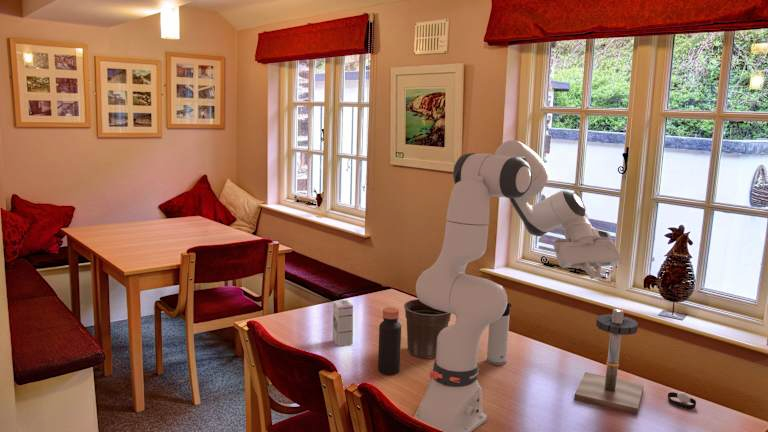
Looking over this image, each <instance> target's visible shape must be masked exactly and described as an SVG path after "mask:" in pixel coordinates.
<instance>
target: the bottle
mask: <svg viewBox="0 0 768 432" xmlns="http://www.w3.org/2000/svg"><path fill="white" fill-rule="evenodd" d="M399 316H400V310H399V309H398V308H396V307H390V306H388V307H385V308H383V309H382V318H383V320H382V321H381V322H380V324H379V326H378V327H379V328H378V351H377V352H378V353H377V356H378V358H377V372H378V373H379V374H382V375H385V376H394V375H397V374H399V372H400V368H401V347H402V345H401V344H402V343H401V342H402V325H401V323H400V322H399V321H398V320H399Z"/></svg>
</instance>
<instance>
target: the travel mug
mask: <svg viewBox="0 0 768 432" xmlns="http://www.w3.org/2000/svg"><path fill="white" fill-rule="evenodd" d="M510 308H512V303H509V302H507V307H506V310H505V312H504V314H503V315H502V316H501V317H500V318H499V319H498V320H496V321H494V322H492V323H491V324H489V325H488V336H487V351H486V361H487V363H489V364H490V365H493V366H504V365H505V364H506V363H507V357H508V356H507V355H508V354H507V353H508V340H509V339H508V338H509V330H510V329H509V328H510V315H511V314H510V312H511V309H510Z"/></svg>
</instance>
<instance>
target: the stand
mask: <svg viewBox="0 0 768 432" xmlns="http://www.w3.org/2000/svg"><path fill="white" fill-rule="evenodd" d="M605 379H606V375H601V374H595V373H592V372H587V371H585V372H584V374H583V376H582V378H581V380H580V382H579V384H578V386H577V388H576V390H575V392H574V394H573V395H574V396H573V401H576V402H580V403H585V404H588V405H593V406H596V407H602V408H606V409H610V410H614V411H618V412H621V411H623V412H622V413H627V414H631V415H635V416H637V415H638V413H639V408H640V404H641V401H642V397H643V393H644V388H645V384H642V383H637V382H634V381H628V380H625V379H619V378H617V380H616V389H615V391H607V390H605Z"/></svg>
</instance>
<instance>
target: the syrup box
mask: <svg viewBox="0 0 768 432" xmlns="http://www.w3.org/2000/svg"><path fill="white" fill-rule="evenodd" d="M353 337H354V304H352V303H351V302H350V301H349V300H348V299H343V300H342V299H341V300H334V301H333V302H332V342H333V343H334V344H335V343H336V344H335V345H336V346H337V347H343V346H342V345H347V346H351V344H353V343H354V342H353V341H354V340H353V339H354V338H353ZM353 345H354V344H353Z"/></svg>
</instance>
